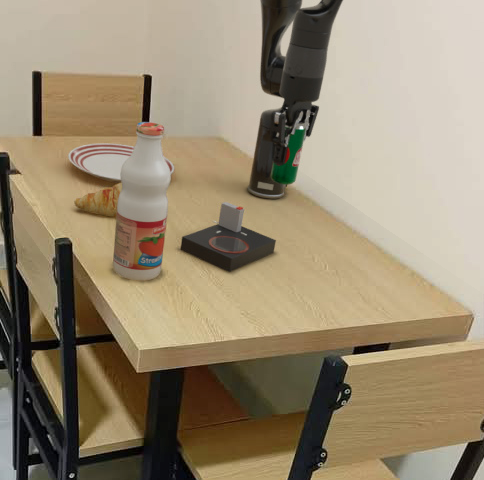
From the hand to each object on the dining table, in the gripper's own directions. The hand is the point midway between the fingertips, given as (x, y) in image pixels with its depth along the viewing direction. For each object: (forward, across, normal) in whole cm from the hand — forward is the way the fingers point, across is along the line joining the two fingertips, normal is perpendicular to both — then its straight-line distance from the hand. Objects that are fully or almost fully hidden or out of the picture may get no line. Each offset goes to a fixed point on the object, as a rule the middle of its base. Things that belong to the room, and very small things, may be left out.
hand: (286, 161), depth 145 cm
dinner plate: (+21, -14, -55) cm, 61 cm away
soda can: (+4, 0, 0) cm, 4 cm away
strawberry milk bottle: (+21, +27, -13) cm, 37 cm away
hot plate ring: (+18, +7, -6) cm, 20 cm away
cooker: (+21, +4, -7) cm, 23 cm away
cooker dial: (+18, 0, -11) cm, 21 cm away
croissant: (+21, +7, -36) cm, 43 cm away
